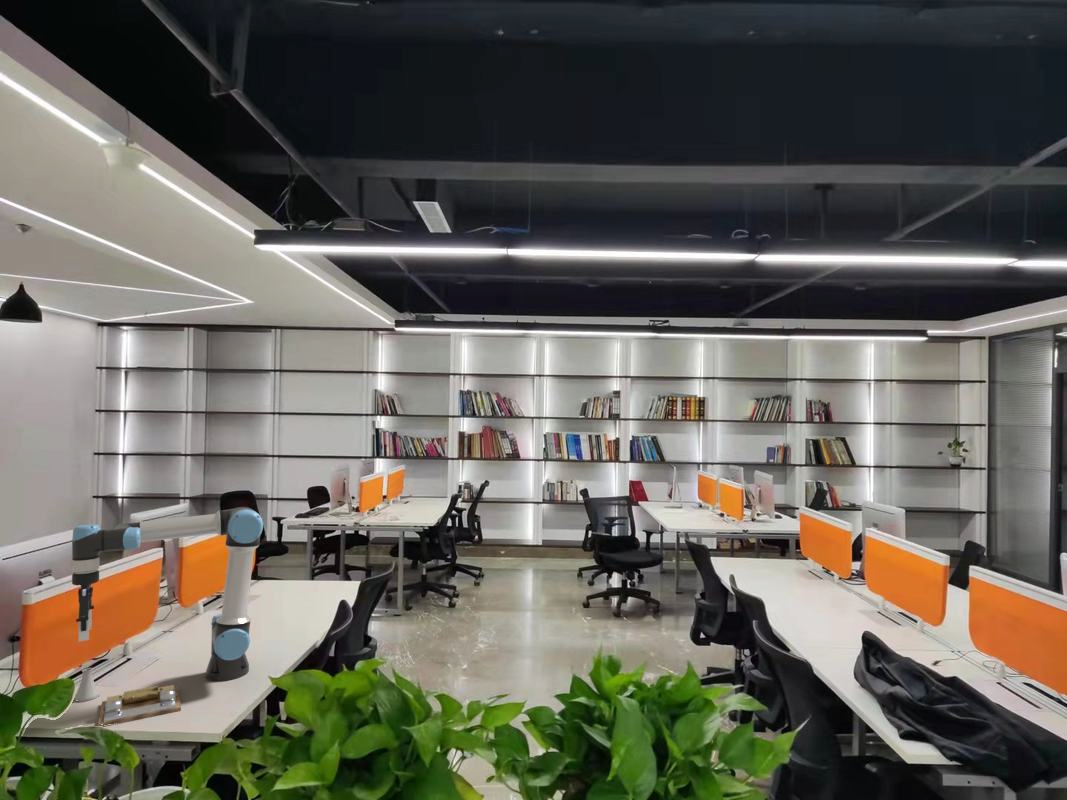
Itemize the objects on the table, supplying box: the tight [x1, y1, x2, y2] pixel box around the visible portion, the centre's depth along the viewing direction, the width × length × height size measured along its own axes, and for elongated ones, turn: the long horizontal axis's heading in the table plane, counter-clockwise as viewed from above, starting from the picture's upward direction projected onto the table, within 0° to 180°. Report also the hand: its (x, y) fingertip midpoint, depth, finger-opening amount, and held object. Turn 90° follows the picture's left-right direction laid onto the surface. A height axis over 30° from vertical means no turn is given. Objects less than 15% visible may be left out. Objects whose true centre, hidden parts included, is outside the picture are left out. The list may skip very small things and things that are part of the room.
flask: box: [73, 667, 100, 703], centre depth 225 cm, size 7×7×10 cm
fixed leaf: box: [103, 689, 177, 722], centre depth 212 cm, size 21×8×4 cm, turn 121°
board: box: [97, 686, 182, 728], centre depth 217 cm, size 23×20×1 cm
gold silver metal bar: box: [106, 684, 175, 705], centre depth 221 cm, size 20×8×4 cm, turn 121°
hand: (85, 635), depth 214 cm, fingers open, 13 cm apart
